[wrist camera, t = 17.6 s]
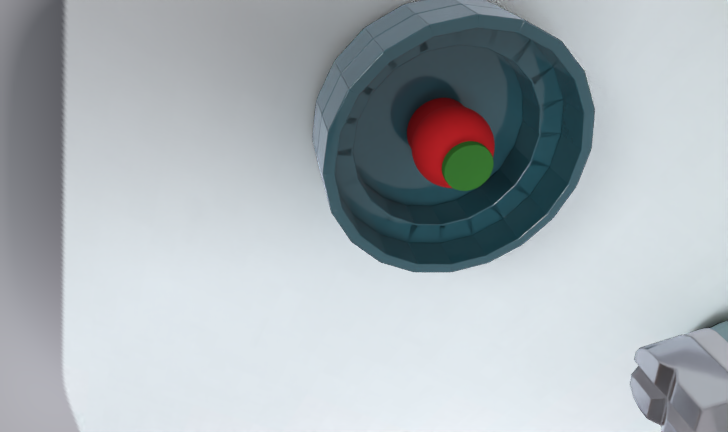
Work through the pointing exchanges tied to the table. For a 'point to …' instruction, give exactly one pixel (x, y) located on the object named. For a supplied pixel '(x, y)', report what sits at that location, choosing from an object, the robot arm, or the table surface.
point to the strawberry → (451, 144)
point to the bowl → (474, 91)
